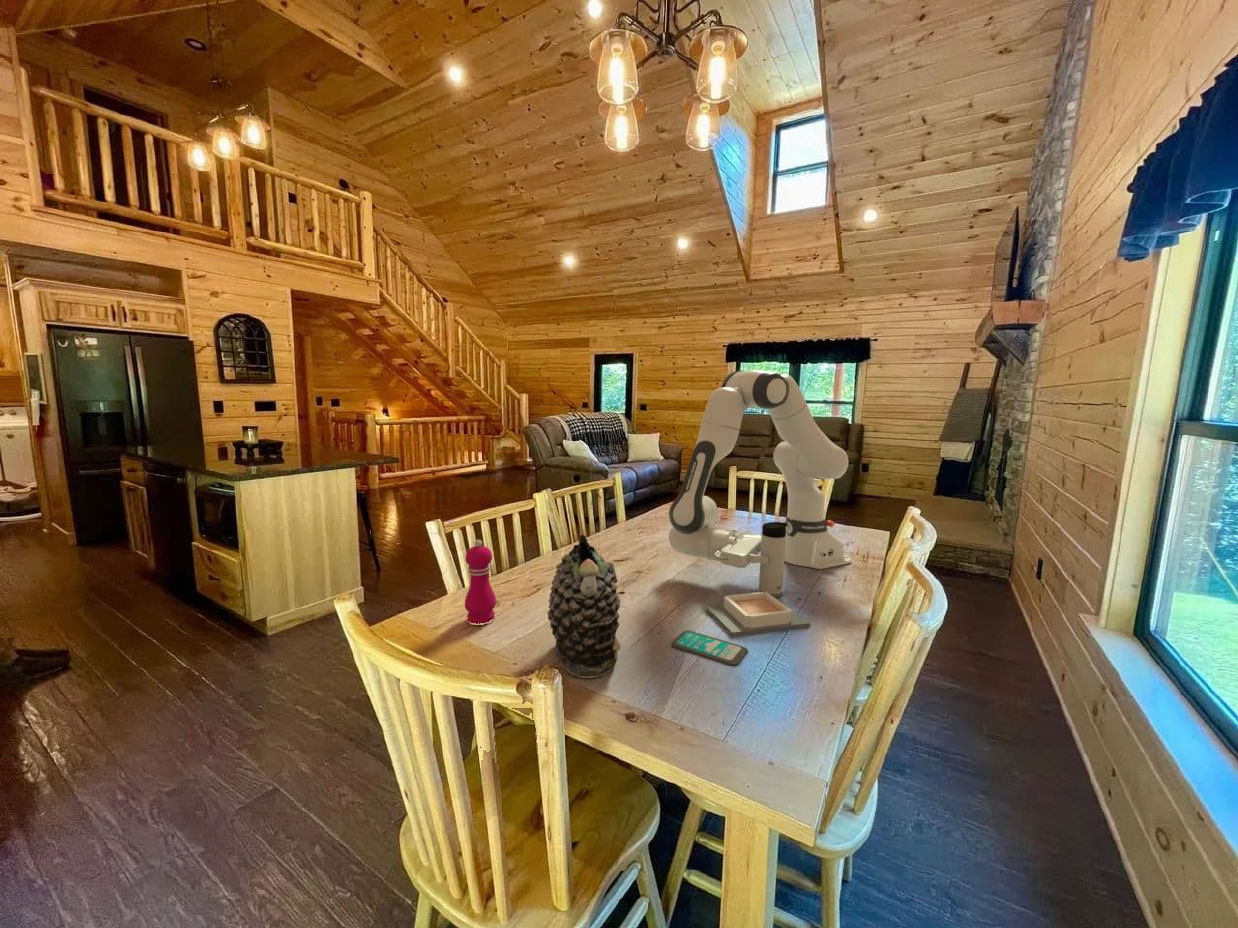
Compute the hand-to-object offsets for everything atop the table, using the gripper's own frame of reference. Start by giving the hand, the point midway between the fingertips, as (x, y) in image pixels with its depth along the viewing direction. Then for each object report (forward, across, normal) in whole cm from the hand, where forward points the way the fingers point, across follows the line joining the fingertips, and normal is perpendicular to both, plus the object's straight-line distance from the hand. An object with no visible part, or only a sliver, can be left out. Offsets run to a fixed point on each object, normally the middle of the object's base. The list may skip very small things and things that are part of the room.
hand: (772, 554), depth 135 cm
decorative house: (-25, -54, +11) cm, 60 cm away
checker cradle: (+1, -18, +11) cm, 21 cm away
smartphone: (-4, -37, +11) cm, 39 cm away
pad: (+1, -18, +10) cm, 20 cm away
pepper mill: (-56, -53, +11) cm, 78 cm away
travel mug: (0, 0, +11) cm, 11 cm away
